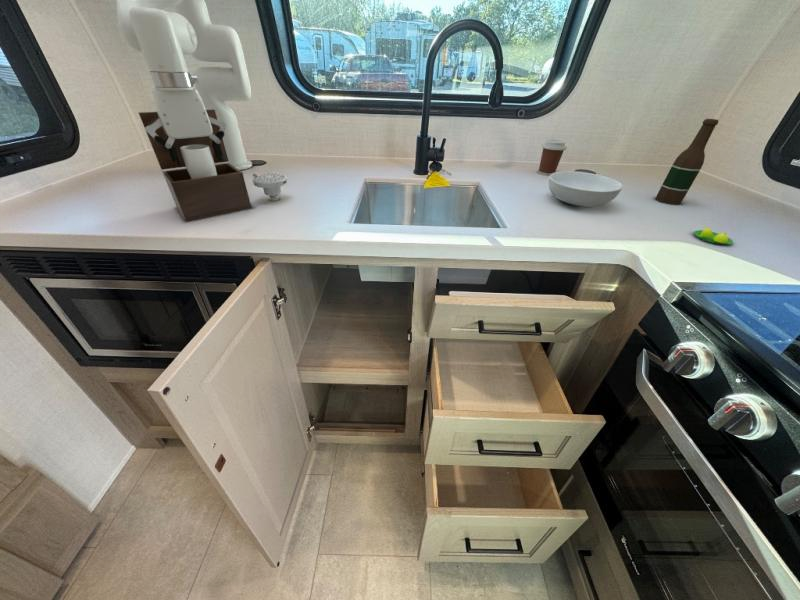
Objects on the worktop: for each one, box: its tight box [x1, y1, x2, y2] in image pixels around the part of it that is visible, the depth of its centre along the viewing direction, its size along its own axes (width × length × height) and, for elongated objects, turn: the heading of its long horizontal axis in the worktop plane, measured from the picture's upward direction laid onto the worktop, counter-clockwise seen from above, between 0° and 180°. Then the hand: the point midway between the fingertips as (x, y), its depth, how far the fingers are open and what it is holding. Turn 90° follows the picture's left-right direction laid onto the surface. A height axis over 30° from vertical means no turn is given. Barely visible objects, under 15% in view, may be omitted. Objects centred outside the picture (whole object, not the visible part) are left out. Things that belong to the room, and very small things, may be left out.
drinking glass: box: [180, 144, 217, 179], centre depth 84 cm, size 7×7×15 cm
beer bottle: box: [655, 118, 719, 205], centre depth 99 cm, size 8×8×24 cm
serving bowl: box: [548, 170, 623, 207], centre depth 100 cm, size 21×21×7 cm
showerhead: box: [252, 172, 288, 202], centre depth 94 cm, size 9×7×10 cm
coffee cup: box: [537, 138, 567, 176], centre depth 126 cm, size 9×9×12 cm
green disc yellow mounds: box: [693, 226, 734, 245], centre depth 81 cm, size 8×8×3 cm
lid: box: [138, 109, 229, 171], centre depth 84 cm, size 13×17×5 cm
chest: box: [162, 163, 253, 222], centre depth 86 cm, size 12×17×10 cm
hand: (199, 161), depth 82 cm, fingers open, 9 cm apart
